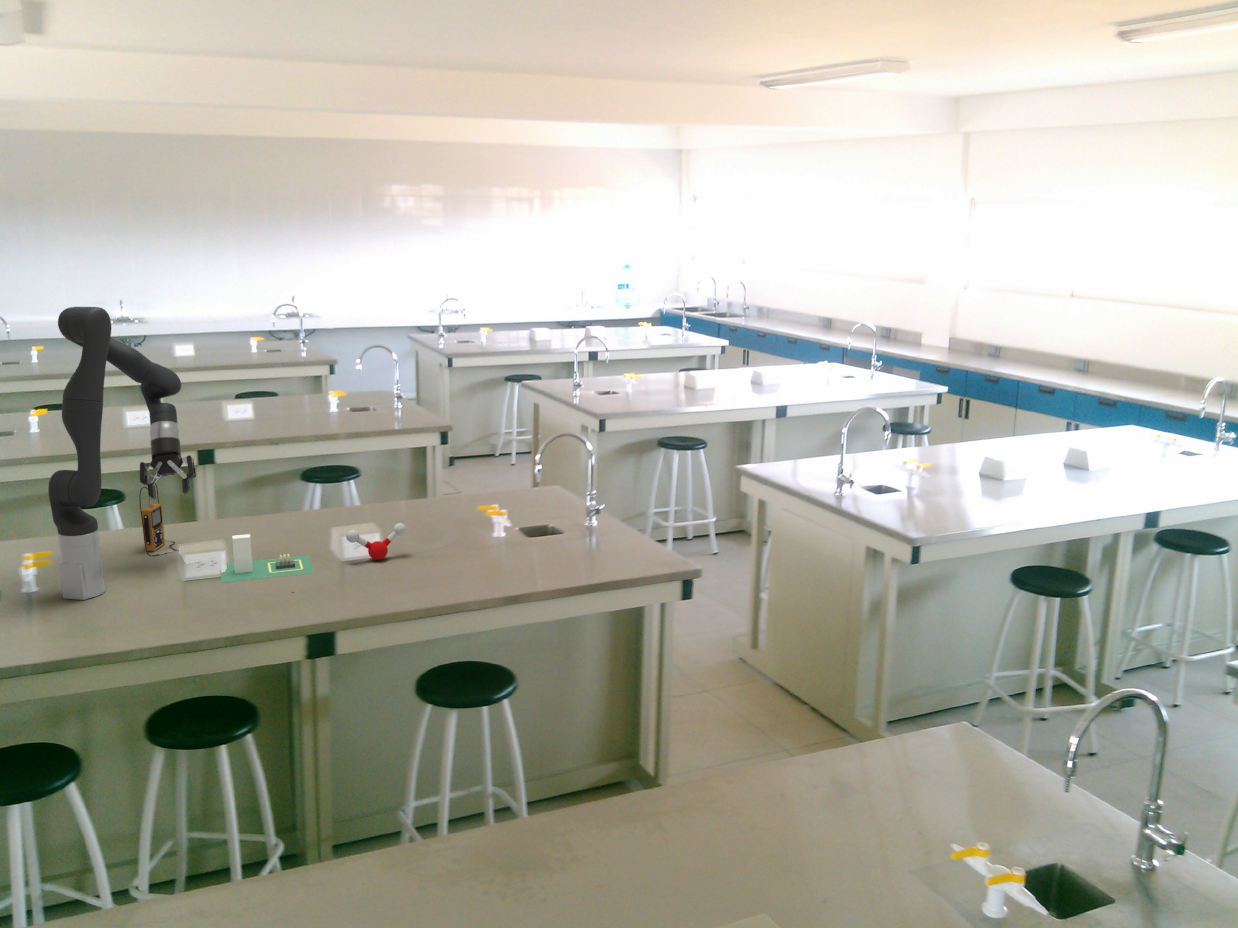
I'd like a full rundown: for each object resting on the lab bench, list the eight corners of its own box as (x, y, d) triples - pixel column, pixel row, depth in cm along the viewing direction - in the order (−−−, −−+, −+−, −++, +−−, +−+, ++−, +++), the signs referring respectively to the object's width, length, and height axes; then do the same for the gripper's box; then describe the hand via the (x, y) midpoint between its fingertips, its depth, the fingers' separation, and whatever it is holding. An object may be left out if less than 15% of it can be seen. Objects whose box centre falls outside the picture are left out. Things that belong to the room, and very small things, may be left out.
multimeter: (172, 557, 292) (166, 491, 287) (138, 556, 292) (132, 490, 287) (194, 541, 306) (189, 478, 301) (162, 540, 306) (156, 477, 301)
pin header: (295, 567, 280) (294, 555, 280) (276, 569, 279) (275, 557, 278) (294, 563, 283) (293, 551, 283) (275, 565, 282) (274, 553, 281)
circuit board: (221, 588, 268) (221, 582, 267) (220, 569, 282) (219, 563, 282) (314, 577, 277) (314, 572, 276) (308, 559, 291) (308, 554, 291)
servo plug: (252, 571, 276) (250, 537, 274) (235, 573, 275) (232, 538, 272) (252, 568, 279) (249, 534, 277) (234, 569, 277) (232, 535, 275)
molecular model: (404, 552, 299) (403, 520, 297) (410, 557, 295) (409, 525, 292) (345, 561, 291) (344, 528, 288) (350, 566, 286) (349, 533, 284)
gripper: (133, 440, 275) (137, 496, 271) (187, 432, 277) (191, 488, 273) (143, 447, 282) (147, 502, 278) (195, 440, 284) (200, 494, 280)
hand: (169, 495), depth 276 cm, fingers open, 8 cm apart
